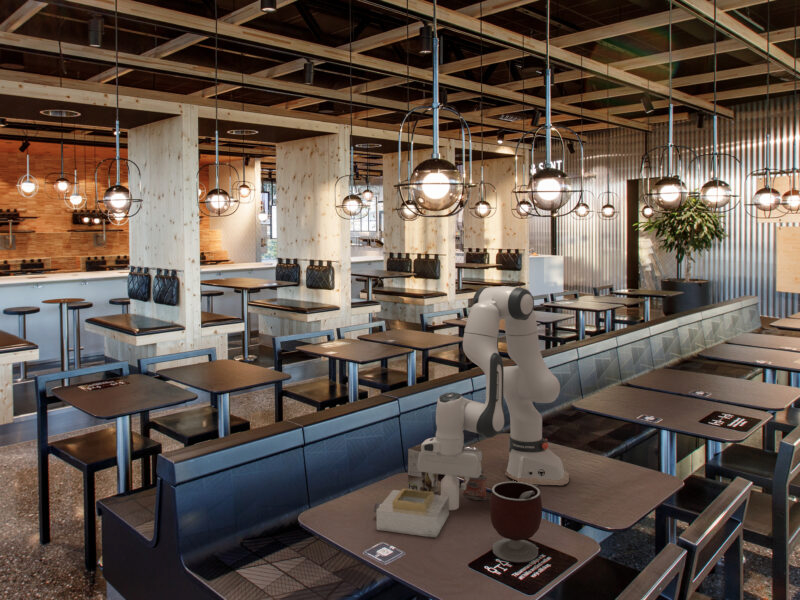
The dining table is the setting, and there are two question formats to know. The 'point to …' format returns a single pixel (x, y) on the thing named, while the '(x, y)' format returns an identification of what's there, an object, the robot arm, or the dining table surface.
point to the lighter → (476, 487)
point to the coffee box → (418, 473)
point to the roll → (451, 490)
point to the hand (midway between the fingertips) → (449, 487)
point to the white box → (412, 512)
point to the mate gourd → (515, 519)
